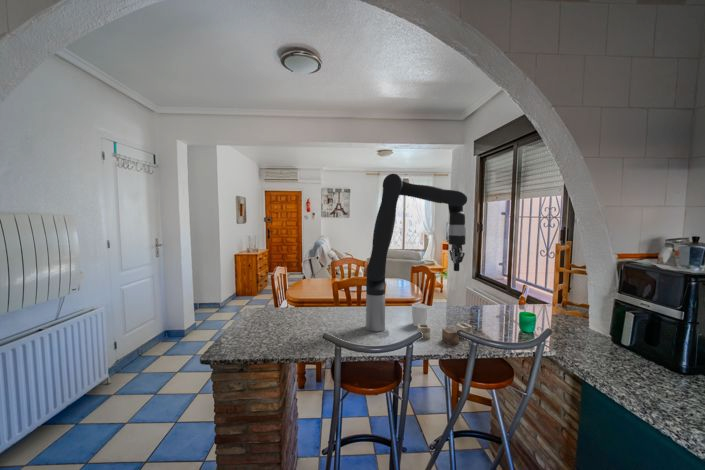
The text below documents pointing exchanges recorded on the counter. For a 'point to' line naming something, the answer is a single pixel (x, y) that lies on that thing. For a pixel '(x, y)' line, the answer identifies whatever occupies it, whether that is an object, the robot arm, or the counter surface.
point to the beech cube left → (424, 330)
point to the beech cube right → (464, 327)
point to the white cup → (419, 313)
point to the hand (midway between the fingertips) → (456, 270)
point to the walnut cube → (450, 336)
